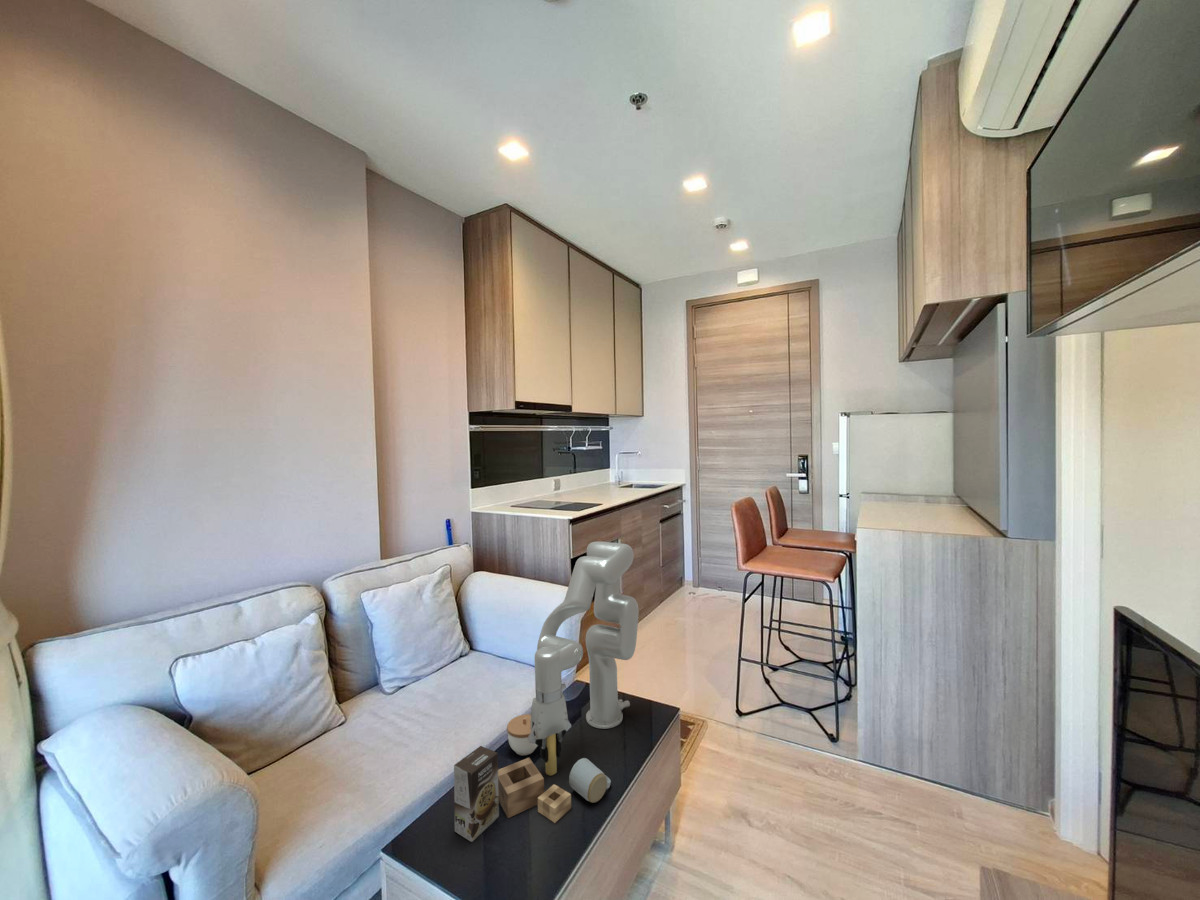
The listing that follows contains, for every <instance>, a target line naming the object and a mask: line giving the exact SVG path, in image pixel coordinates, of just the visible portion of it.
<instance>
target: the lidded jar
mask: <svg viewBox="0 0 1200 900" xmlns="http://www.w3.org/2000/svg"><path fill="white" fill-rule="evenodd" d="M530 722H531V713H530V714H529V713H528V714H521V715H518V716H515V717H513V718H511V719H510V721H509V722H508V723H507V726H506V731H507V740H508V744H509V746H510V748H511V749H512V750H513V751H514V752H515V753H516V754H517V755H518V756H528V755H531V754H532V753H534V751H535V750H536V749H537V747H539V746H538V745H537V744H532V743H530V742H529V741H528V737H529V735H530V732H531V728H530ZM535 738H536V736H535Z"/></svg>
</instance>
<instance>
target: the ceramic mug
mask: <svg viewBox="0 0 1200 900" xmlns="http://www.w3.org/2000/svg"><path fill="white" fill-rule="evenodd" d="M611 782H612V781H611V779H610V778H609V777H608V776H607V775H605V773H604V771H602V770H601V769H600V768H599V767H597V766H596V765H595V764H594V763H593V762H592V761H590V760H589V759H588V758H586V757H583V758H579V759H578V760H577V761H576V762H575V763H574V764H573V765H572V768H571V770H570V772H569V776H568V783H569V786H570V788H571V789H572V790H574V791H575V792H576V793H577V794H578V795H580V796H581V797H582V798H583V799H585V800H586V801H587V802H589V803H592V804H593V803H597V802H599V801H600V800H601V799H602V798H603V796H604V795H605V793H606V791H607V790H608V789H609V788H610V786H611V784H612V783H611Z"/></svg>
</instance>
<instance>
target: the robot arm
mask: <svg viewBox="0 0 1200 900" xmlns="http://www.w3.org/2000/svg"><path fill="white" fill-rule="evenodd" d="M634 554H635V553H634V550H633V548H632V547H631V546H630V545H629V544H626V543H621V542H611V541H610V542H609V541H592V542H590V543H589V544H588V545H587V548H586V555H584V556H580V557H579V558H578V559H577V560H576V561H575V565H574V567H573V569H572V570H573V571H572V574H571V576H570V581H569V583H568V587H567V590H566V593H565V597H564V600H563V601H562V602H561V603H560V604H559V605H558V606H556V607H555V608H554V609H553V611H551V612H550V613H549V615H548V617H547V618H546V619H545V621H544V622H543V625H542V628H541V631H540V634H539V637H538V640H537V646H536V651H535V653H534V682H535V691H534V692H535V697H534V698H533V699H532V703H531V711H530V715H531V722H530V728H531V732H530V735H529V737H528V741H529V742H530V743H532V744H537V745H538V746H537V747H539V756H540V759H542V760H543V762H544V764H545V763H546V762H548V748H547V747H546V737H548V736H551V735H553V734H556V758H561V751H562V742H563V739H564V736H565V735H566V733H567V732H568V731H569V730H570V728H572V723H570V720H569V717H568V709H567V702H566V698H565V695H564V693H563V690H564V689H567V687H566V684H565V682H564V683H563V682H562V681H563V680H562V679H563V678H562V672H564V671H566V670H569V669H572V668H574V667H576V666H577V665H578V664H579V663H580V662H581V660H582V659H583V656H584V648H583V646H582V643H580V642H578V641H576V640H574V639H569V638H566V637H562V636H557V633H558V631H559V628H560V627H561V625H562V624H563V623H564V622H565V621H566V620H568V619H569V618H571V617H574V616H576V615H580V614H582V613H585V612H588V611H589V610H590V609H591V605H592V602H593V597H594V603H593V614H594V617H595V618H596V619H597V620H600V621H603V622H607V623H614V624H619V627H615V626H612V625H607V624H599V623H598V624H594V625H591V626H590V627H589V628H587V630H586V634H585V647H586V650H587V656H588V665H589V666H588V667H589V668H588V669H589V671H588V672H589V673H588V674H589V698H590V699H589V703H590V704H589V706H590V707H589V709H588V711H587V712H586V714H585V719H586V723H587V724H588V725H589V726H590V727H593V728H596V729H600V730H602V729H604V730H605V729H612V728H615V727H617V726H619V725H620V724H621V723H622V721H623V718H624V717H623V712H622V711H623V709H625V708H628V707H630V706H631V704H630V701H629V700H624V701H623V699H622V698H618V697H619V694H618V667H617V662H616V659H617V660H621V661H628V660H631V659H632V658H633V656H634V654H635V651H636V647H637V638H638V636H637V635H638V626H639V613H640V610H639V609H640V608H639V605H638V601H637V600H636V598H634V597H633V596H631V595H627V594H621V577H622V576H624V574H625V573H626V572H627V571H628V570H629V568H630V567H631V566H632V565H633V561H634V557H635V555H634ZM535 736H536V738H535Z"/></svg>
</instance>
